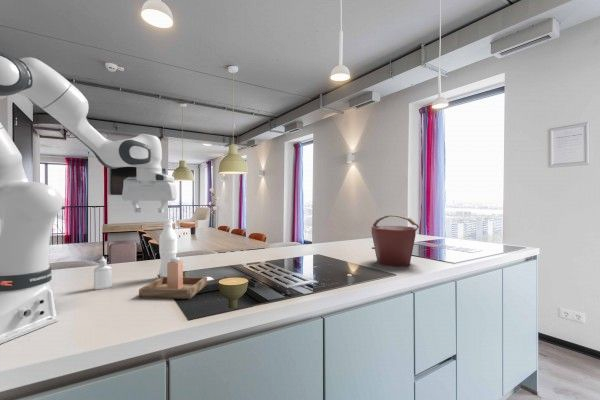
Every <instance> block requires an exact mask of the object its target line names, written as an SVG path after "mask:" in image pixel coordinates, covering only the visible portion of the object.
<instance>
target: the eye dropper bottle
mask: <svg viewBox="0 0 600 400" xmlns="http://www.w3.org/2000/svg"><path fill="white" fill-rule="evenodd" d="M112 277H113V273H112V266H110V265H108V262H107V259H106V258H105V256H101V258H100V260H98V266H97V267H95V268H94V270H93V289H94V290H95V291H98V290H99V291H100V290H105V289H106V288H107V289H109V288H112V286H113V278H112Z"/></svg>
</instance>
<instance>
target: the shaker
mask: <svg viewBox="0 0 600 400" xmlns="http://www.w3.org/2000/svg"><path fill="white" fill-rule="evenodd" d="M183 264H184V261H183V260H181V258H180V256H176V257H173V258H170V262H168V263H167V289H181V288H182V287H183V277H184V265H183Z"/></svg>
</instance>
